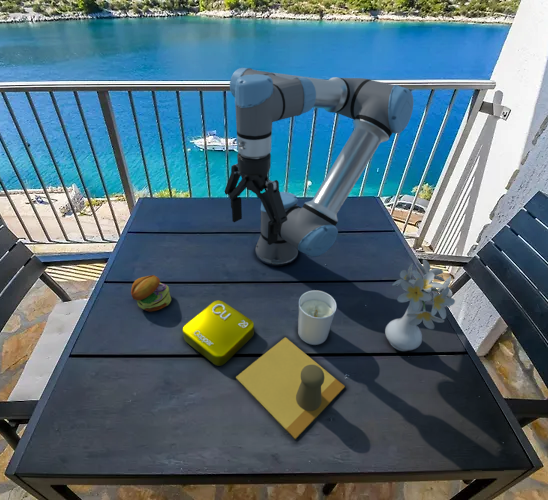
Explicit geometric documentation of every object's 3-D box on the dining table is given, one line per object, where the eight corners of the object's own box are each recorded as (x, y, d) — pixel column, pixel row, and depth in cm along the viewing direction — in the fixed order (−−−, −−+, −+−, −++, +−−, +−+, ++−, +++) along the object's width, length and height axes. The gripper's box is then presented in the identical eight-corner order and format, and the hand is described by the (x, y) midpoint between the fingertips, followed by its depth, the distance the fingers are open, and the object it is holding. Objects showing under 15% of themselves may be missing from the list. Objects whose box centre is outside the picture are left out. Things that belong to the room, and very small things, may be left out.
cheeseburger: (165, 316, 102) (151, 292, 97) (134, 317, 106) (119, 293, 100) (178, 292, 110) (165, 268, 104) (149, 293, 113) (135, 270, 108)
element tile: (180, 338, 96) (178, 327, 93) (218, 307, 105) (217, 296, 102) (219, 369, 89) (218, 358, 86) (257, 332, 98) (257, 321, 95)
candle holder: (332, 324, 100) (339, 295, 93) (327, 351, 93) (333, 322, 86) (299, 315, 103) (303, 286, 95) (291, 341, 96) (294, 312, 88)
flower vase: (383, 371, 88) (410, 304, 73) (372, 316, 103) (393, 249, 87) (436, 377, 87) (476, 310, 72) (418, 320, 101) (448, 253, 86)
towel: (285, 338, 97) (285, 336, 96) (344, 387, 85) (345, 386, 85) (235, 378, 87) (235, 376, 87) (295, 439, 75) (295, 438, 75)
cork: (293, 387, 84) (296, 361, 78) (318, 385, 85) (323, 358, 78) (298, 412, 80) (302, 385, 73) (324, 409, 80) (330, 383, 73)
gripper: (206, 141, 83) (213, 216, 96) (282, 176, 68) (278, 259, 82) (231, 133, 87) (234, 207, 100) (307, 165, 72) (299, 246, 85)
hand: (254, 230), depth 91 cm, fingers open, 13 cm apart
